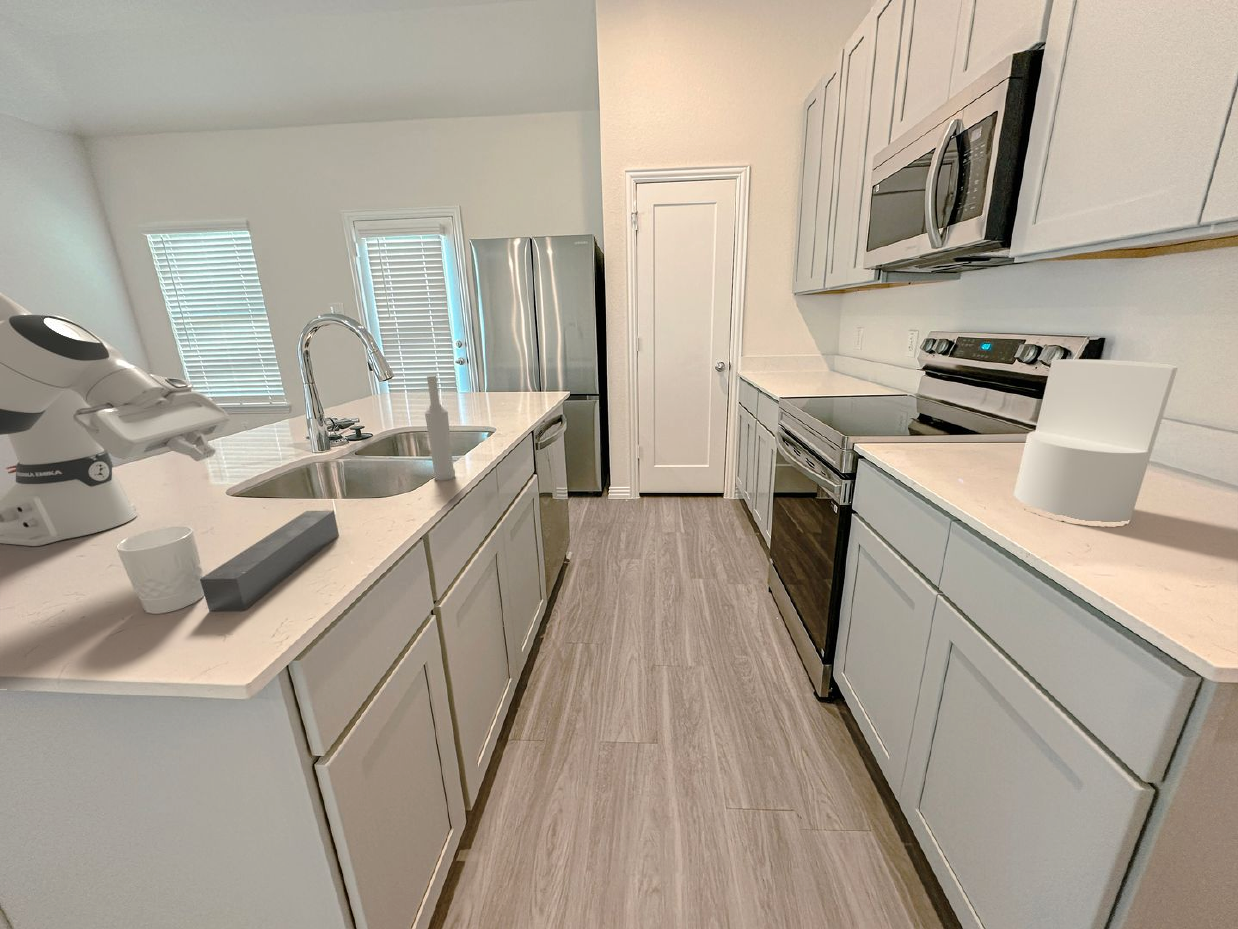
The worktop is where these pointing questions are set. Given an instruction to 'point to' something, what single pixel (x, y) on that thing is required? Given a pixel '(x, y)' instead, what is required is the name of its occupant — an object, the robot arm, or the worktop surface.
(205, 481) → the worktop surface
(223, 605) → the long dark grey beam
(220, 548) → the worktop surface
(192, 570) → the white cup
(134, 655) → the worktop surface
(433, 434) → the bottle
